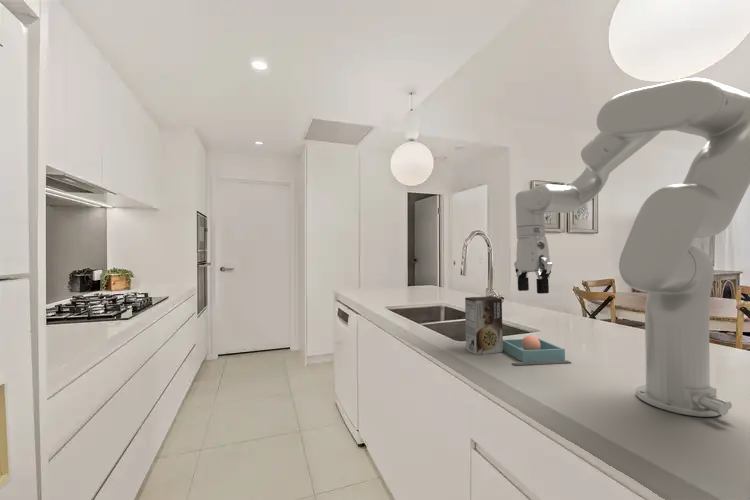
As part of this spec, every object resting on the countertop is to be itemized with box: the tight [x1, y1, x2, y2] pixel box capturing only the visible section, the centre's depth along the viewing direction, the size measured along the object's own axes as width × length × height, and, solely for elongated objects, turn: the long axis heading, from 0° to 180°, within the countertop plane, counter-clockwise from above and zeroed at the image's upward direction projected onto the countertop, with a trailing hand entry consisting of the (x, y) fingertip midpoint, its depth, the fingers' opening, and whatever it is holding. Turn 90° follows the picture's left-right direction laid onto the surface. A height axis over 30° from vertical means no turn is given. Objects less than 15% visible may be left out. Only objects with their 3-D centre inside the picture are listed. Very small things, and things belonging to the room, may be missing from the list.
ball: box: [522, 334, 541, 350], centre depth 99 cm, size 5×5×5 cm
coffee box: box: [464, 295, 504, 356], centre depth 104 cm, size 9×6×16 cm
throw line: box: [511, 360, 572, 367], centre depth 91 cm, size 2×16×1 cm, turn 97°
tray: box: [503, 337, 566, 363], centre depth 99 cm, size 12×12×3 cm
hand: (532, 291), depth 99 cm, fingers open, 9 cm apart
